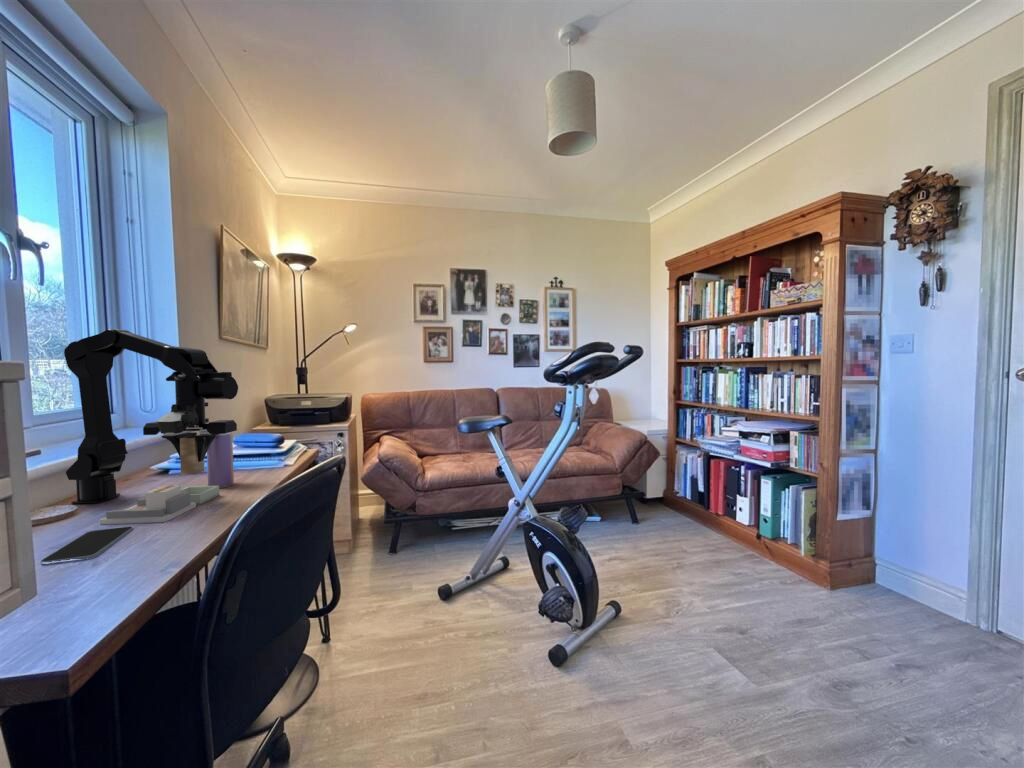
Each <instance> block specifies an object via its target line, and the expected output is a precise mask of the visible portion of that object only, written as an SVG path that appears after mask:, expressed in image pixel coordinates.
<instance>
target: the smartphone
mask: <svg viewBox="0 0 1024 768" xmlns="http://www.w3.org/2000/svg"><path fill="white" fill-rule="evenodd" d="M132 530H133V526H122V527H114V528H113V527H112V528H104V529H95V530H90V531H87V532H85V533H84V534H82V535H80V536H79V537H77V538H75V539H74V540H72V541H70V542H69V543H67V544H66V545H64V546H62V547H61V548H59V549H57V550H55V551H53V552H52V553H51V554H49V555H47V556H46V557H44V558H42V559H41V560H40V563H41V562H52V561H61V560H70V559H87V558H91V559H94V558H96V557H98V556H99V555H100V554H102V553H103V552H104V551H106V550H107V549H108V548H111V546H113V545H114V544H115V543H117V542H119V540H121V539H122V538H123V537H125V536H126V535H127V534H129V533H130V532H131V531H132ZM93 557H94V558H93ZM87 560H88V559H87Z"/></svg>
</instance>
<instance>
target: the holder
mask: <svg viewBox="0 0 1024 768" xmlns="http://www.w3.org/2000/svg"><path fill="white" fill-rule="evenodd" d="M189 492H190V503H191V502H196V506H201V505H203V504H205V503H206V502H209V501H211V500H213V499H215V498H217V497H218V496H220V488H219V486H208V485H198V486H197V485H193V486H186V487H183V488H181V494H182V493H189Z"/></svg>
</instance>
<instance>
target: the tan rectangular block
mask: <svg viewBox="0 0 1024 768" xmlns="http://www.w3.org/2000/svg"><path fill="white" fill-rule="evenodd" d="M196 435H198V432H197V431H191V432H189V433H187V437H183V438H180V457H179V458H180V459H179V460H180V461H179V462H180V475H181V476H183V475H185V476H186V475H191V476H192V475H197V474H200V473H203V472H205V470H206V469H205V458H204V459H203V461H201V462H198V451H197V440H196V439H195V437H194V436H196Z"/></svg>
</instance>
